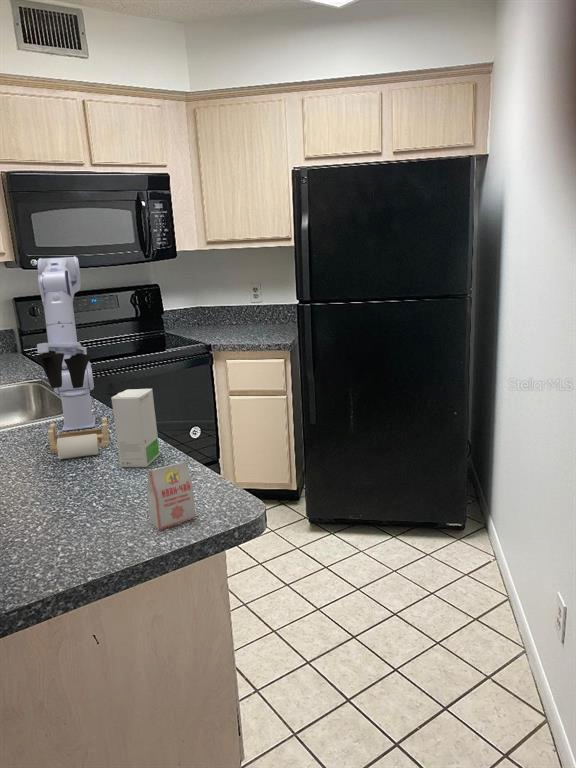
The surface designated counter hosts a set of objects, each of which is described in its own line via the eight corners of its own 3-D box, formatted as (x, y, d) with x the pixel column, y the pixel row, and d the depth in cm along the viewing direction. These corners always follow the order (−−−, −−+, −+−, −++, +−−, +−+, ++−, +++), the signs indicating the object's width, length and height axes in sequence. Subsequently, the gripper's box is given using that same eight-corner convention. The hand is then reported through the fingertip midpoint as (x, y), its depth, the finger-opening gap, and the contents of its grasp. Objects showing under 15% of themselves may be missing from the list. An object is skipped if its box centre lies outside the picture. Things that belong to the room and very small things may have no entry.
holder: (53, 442, 147) (50, 423, 146) (108, 435, 151) (106, 416, 149) (50, 453, 140) (47, 432, 138) (108, 445, 143) (106, 425, 142)
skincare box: (146, 468, 128) (139, 397, 124) (117, 468, 129) (108, 397, 125) (160, 454, 136) (154, 387, 132) (133, 454, 137) (125, 387, 133)
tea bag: (150, 522, 103) (144, 467, 101) (186, 511, 107) (181, 458, 104) (158, 530, 100) (152, 474, 98) (195, 518, 104) (190, 464, 101)
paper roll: (57, 462, 134) (54, 442, 133) (59, 455, 138) (56, 435, 137) (99, 457, 136) (97, 436, 135) (100, 450, 141) (97, 430, 139)
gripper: (54, 319, 123) (62, 384, 122) (95, 326, 137) (102, 385, 136) (25, 324, 125) (33, 389, 124) (68, 331, 139) (75, 389, 138)
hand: (67, 387), depth 130 cm, fingers open, 7 cm apart
